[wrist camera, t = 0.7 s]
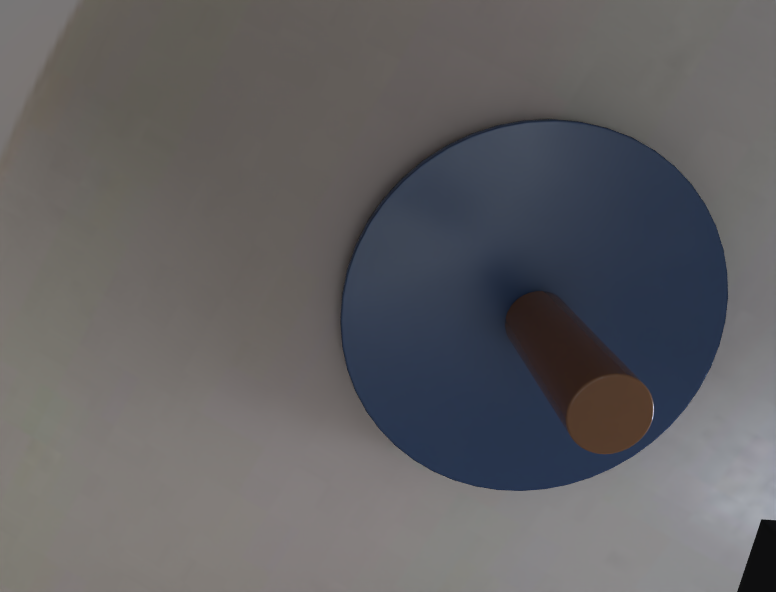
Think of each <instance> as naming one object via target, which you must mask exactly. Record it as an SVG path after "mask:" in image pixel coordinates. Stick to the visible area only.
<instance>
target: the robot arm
mask: <svg viewBox="0 0 776 592" xmlns="http://www.w3.org/2000/svg"><path fill="white" fill-rule="evenodd" d="M737 592H776V520H762V519H761V522H760V525H759V528H758V531H757V534H756V537H755V540H754V543H753V546H752V549H751V552H750V555H749V558H748V561H747V564H746V567H745V570H744V573H743V576H742V579H741V582H740V585H739V588H738V591H737Z"/></svg>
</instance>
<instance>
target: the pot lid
mask: <svg viewBox="0 0 776 592" xmlns="http://www.w3.org/2000/svg"><path fill="white" fill-rule="evenodd" d="M727 301H728V282H727V268H726V262H725V256H724V250H723V247H722V244H721V241H720V237H719V234H718V231H717V228H716V225H715V223H714V221H713V219H712V217H711V215H710V213H709V211H708V209H707V207H706V205H705V203H704V202H703V200H702V199H701V197H700V196H699V194H698V193H697V192H696V190H695V189H694V187H693V186H692V184H691V183H690V182H689V181H688V180H687V179H686V178H685V177H684V176H683V175H682V174H681V173H680V172H679V170H678V169H677V168H676V167H675V166H674V165H672V164H671V163H670V162H669V161H667V160H666V159H665V158H664V157H662V156H661V155H660V154H658V153H657V152H656V151H655V150H653V149H651V148H649V147H648V146H646V145H644V144H642V143H641V142H639V141H637V140H635V139H634V138H632V137H629V136H627V135H624V134H621V133H619V132H616V131H614V130H611V129H608V128H605V127H600V126H596V125H592V124H587V123H583V122H578V121H568V120H556V119H542V120H523V121H518V122H513V123H507V124H502V125H497V126H494V127H491V128H488V129H485V130H482V131H479V132H476V133H472V134H470V135H468V136H466V137H463V138H461V139H459V140H457V141H455V142H453V143H451V144H449V145H447V146H445V147H443V148H442V149H440V150H439V151H437V152H436V153H434V154H433V155H431V156H430V157H428V158H427V159H425V160H423V161H422V162H421V163H420V164H418V165H417V166H416V167H415V168H414V169H413V170H411V171H410V172H409V173H408V174H407V175H406V176H404V177H403V178H402V179H401V180H400V181H399V182H398V183H397V184H396V186H395V187H394V188H393V189H392V190H391V191H390V192H389V193H388V194H387V196H386V197H385V198H384V199H383V200H382V202H381V203H380V204H379V206H378V207H377V209H376V210H375V212H374V213H373V215H372V216H371V217H370V219H369V220H368V222H367V224H366V226H365V228H364V230H363V232H362V234H361V236H360V238H359V240H358V241H357V243H356V246H355V249H354V251H353V254H352V257H351V260H350V263H349V265H348V268H347V273H346V278H345V282H344V287H343V292H342V304H341V335H342V347H343V352H344V356H345V361H346V365H347V370H348V372H349V375H350V378H351V381H352V383H353V386H354V389H355V391H356V393H357V395H358V397H359V399H360V400H361V402H362V404H363V406H364V408H365V410H366V411H367V413H368V414H369V416H370V417H371V418H372V420H373V421H374V422H375V424H376V425H377V426H378V428H379V429H380V430H381V431H382V432H383V433H384V434H385V435H386V436H387V437H388V438H389V440H390V441H391V442H392V443H393V444H394V445H395V446H397V447H398V448H399V449H400V450H402V451H403V452H404V453H406V454H407V455H408V456H409V457H411V458H412V459H413V460H415V461H417V462H418V463H420V464H422V465H423V466H425V467H427V468H428V469H430V470H432V471H434V472H436V473H438V474H441V475H443V476H445V477H448V478H450V479H453V480H455V481H459V482H462V483H466V484H469V485H473V486H477V487H483V488H489V489H496V490H513V491H526V490H539V489H548V488H553V487H558V486H563V485H568V484H571V483H575V482H578V481H581V480H584V479H588V478H591V477H593V476H595V475H598V474H600V473H602V472H605V471H607V470H609V469H611V468H613V467H615V466H617V465H619V464H620V463H622V462H624V461H626V460H627V459H629V458H631V457H633V456H634V455H635V454H637V453H638V452H640V451H641V450H642V449H644V448H645V447H646V446H648V445H649V444H651V443H652V442H653V441H654V440H655V439H656V438H657V437H659V436H660V435H661V434H662V433H663V432H664V431H665V430H666V429H667V428H668V427H670V426H671V424H672V423H673V422H674V421H675V420H676V419H677V418H678V416H679V415H680V414H681V413H682V412H683V411H684V410H685V408H686V407H687V406H688V404H689V403H690V401H691V400H692V398H693V397H694V396H695V394H696V393H697V391H698V390H699V388H700V386H701V385H702V383H703V381H704V379H705V377H706V375H707V373H708V371H709V369H710V368H711V365H712V363H713V360H714V357H715V355H716V352H717V350H718V347H719V344H720V340H721V336H722V332H723V328H724V324H725V319H726V310H727Z"/></svg>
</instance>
